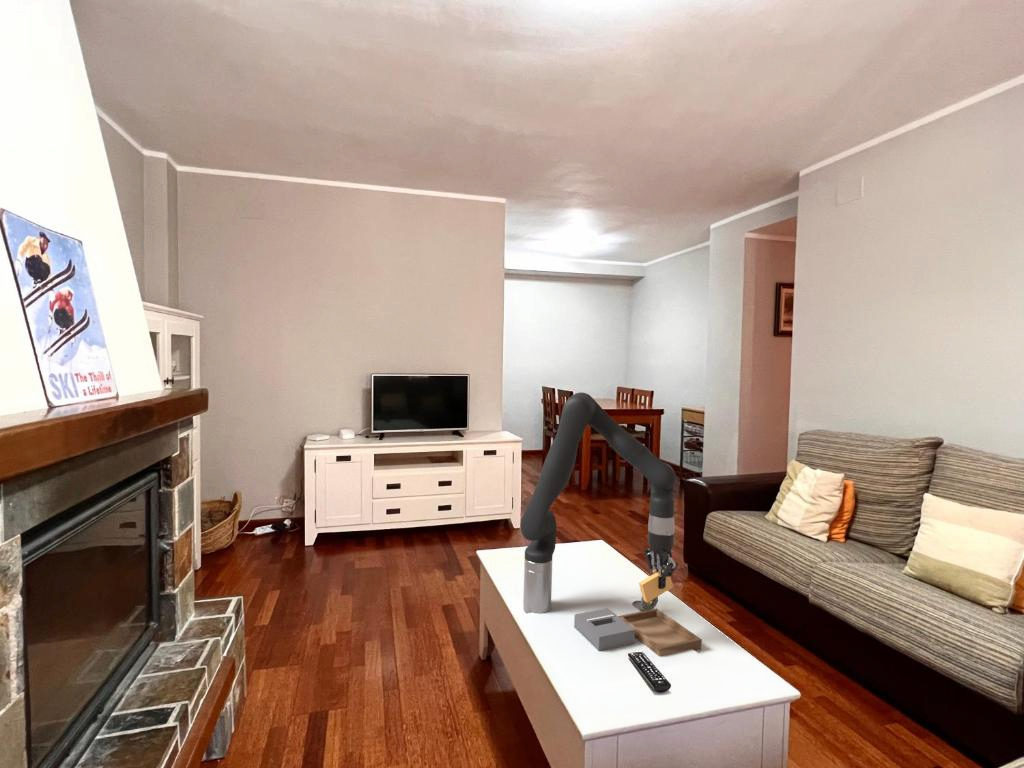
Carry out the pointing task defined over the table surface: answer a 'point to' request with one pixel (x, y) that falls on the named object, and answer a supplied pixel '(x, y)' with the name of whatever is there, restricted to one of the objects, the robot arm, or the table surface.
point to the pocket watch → (645, 604)
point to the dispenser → (604, 629)
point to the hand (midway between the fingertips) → (659, 587)
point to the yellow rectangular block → (653, 587)
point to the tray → (661, 632)
